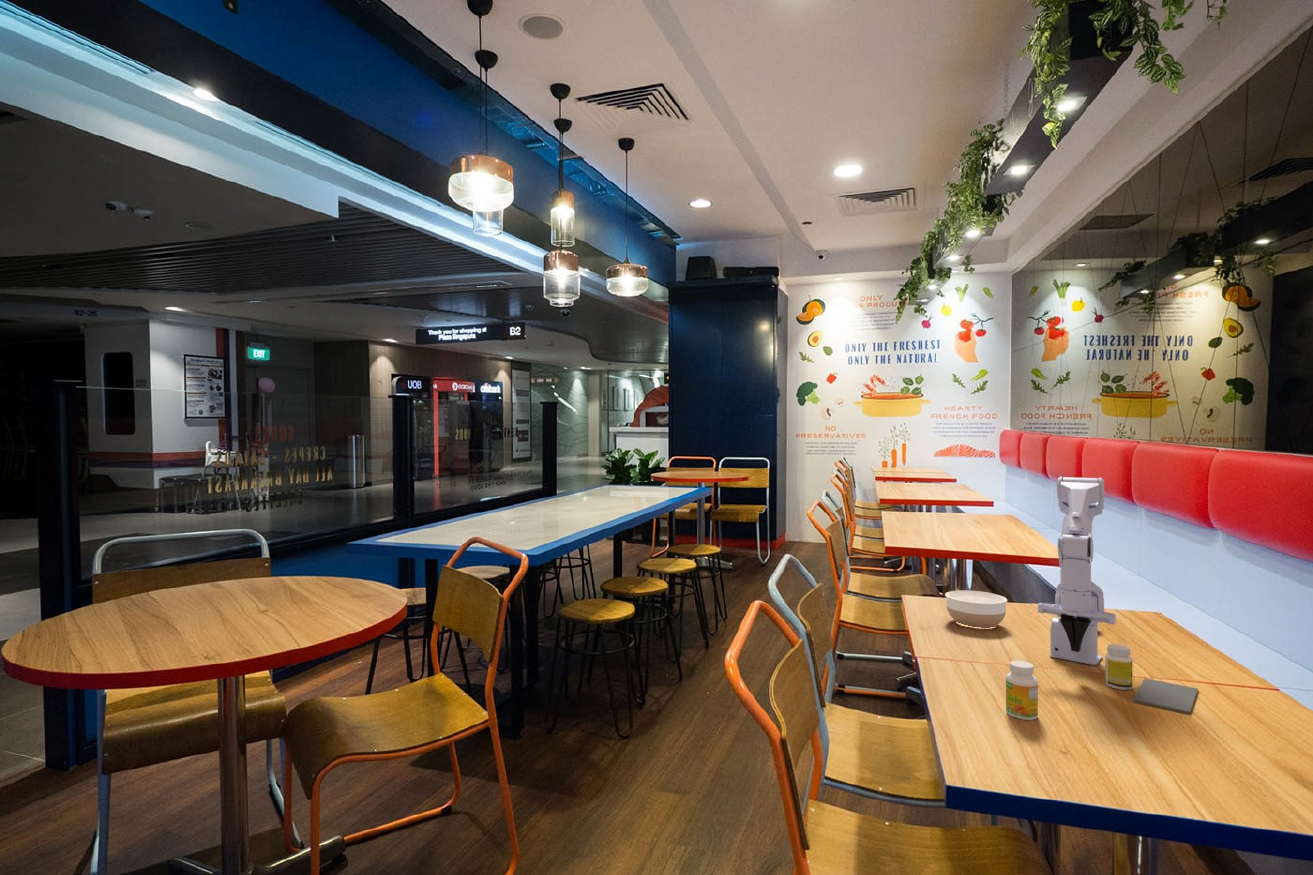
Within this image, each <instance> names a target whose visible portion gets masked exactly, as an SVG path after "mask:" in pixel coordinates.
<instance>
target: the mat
mask: <svg viewBox="0 0 1313 875" xmlns="http://www.w3.org/2000/svg"><path fill="white" fill-rule="evenodd" d="M1198 690H1199V689H1198V688H1197V687H1191V686H1187V685H1183V684H1176V683H1172V682H1167V681H1161V680H1157V679H1152V678H1146V677H1144V679H1143V680H1142V682H1141V684H1140V686H1139V687H1138V689H1137V691H1136V693H1135V694H1134V696H1133V698H1132V703H1133V702H1134V703H1136V704H1141V705H1146V706H1150V707H1151V706H1152V707H1155V708H1160V709H1165V710H1169V711H1173V712H1178V713H1182V714H1187V715H1191V713H1192V710H1193V707H1194V704H1195V701H1196V699H1197V695H1198V692H1199V691H1198Z"/></svg>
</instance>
